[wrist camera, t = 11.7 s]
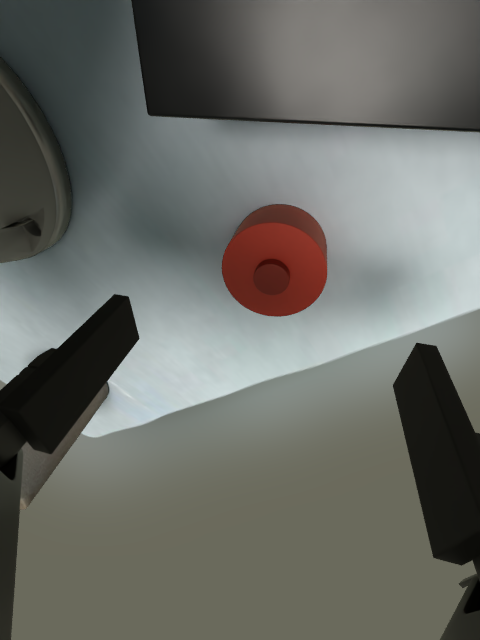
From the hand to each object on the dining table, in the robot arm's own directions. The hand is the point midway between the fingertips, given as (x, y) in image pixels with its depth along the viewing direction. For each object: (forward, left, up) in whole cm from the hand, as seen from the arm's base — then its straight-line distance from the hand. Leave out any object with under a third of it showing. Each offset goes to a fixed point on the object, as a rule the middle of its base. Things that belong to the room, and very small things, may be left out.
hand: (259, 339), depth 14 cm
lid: (0, 0, -9) cm, 9 cm away
